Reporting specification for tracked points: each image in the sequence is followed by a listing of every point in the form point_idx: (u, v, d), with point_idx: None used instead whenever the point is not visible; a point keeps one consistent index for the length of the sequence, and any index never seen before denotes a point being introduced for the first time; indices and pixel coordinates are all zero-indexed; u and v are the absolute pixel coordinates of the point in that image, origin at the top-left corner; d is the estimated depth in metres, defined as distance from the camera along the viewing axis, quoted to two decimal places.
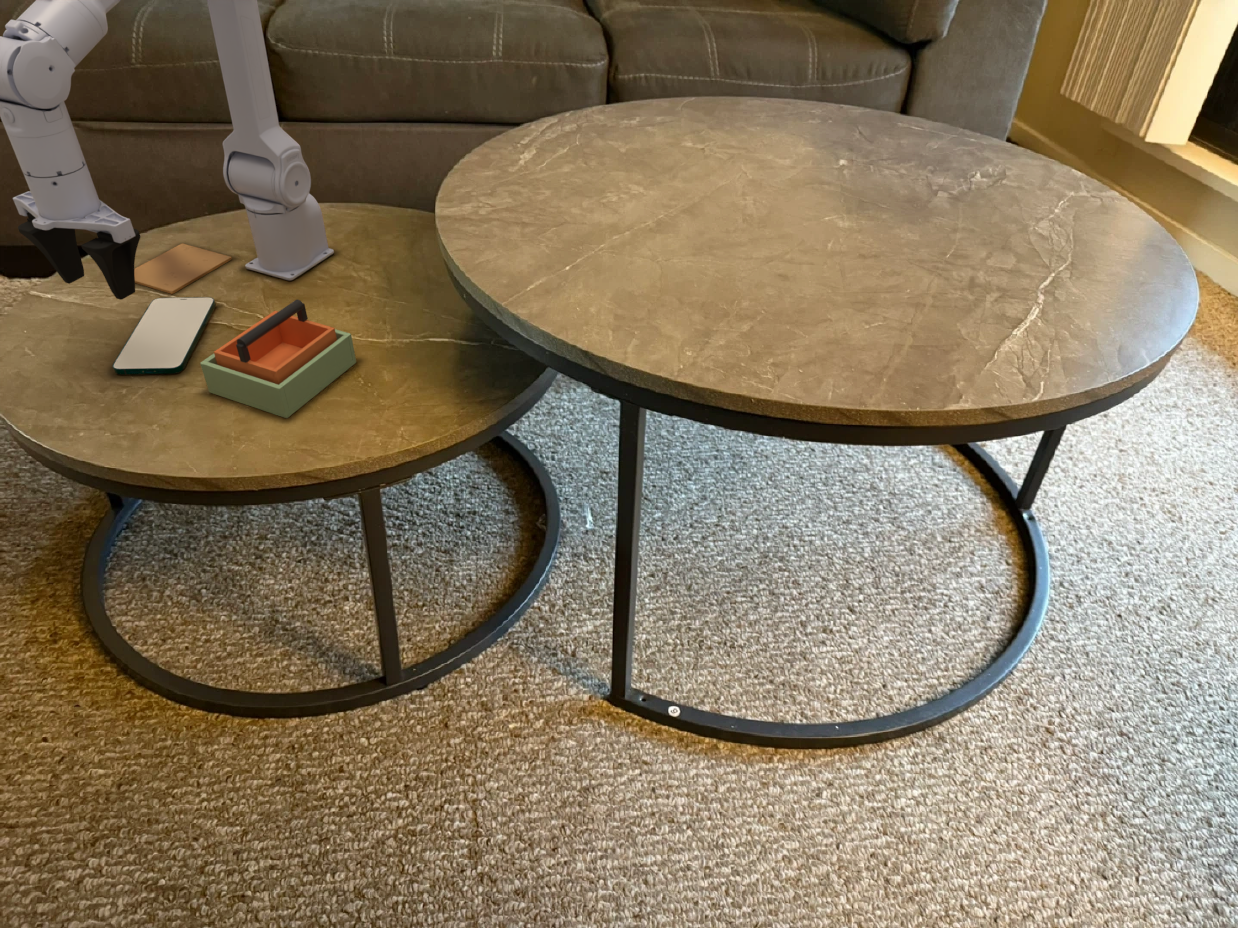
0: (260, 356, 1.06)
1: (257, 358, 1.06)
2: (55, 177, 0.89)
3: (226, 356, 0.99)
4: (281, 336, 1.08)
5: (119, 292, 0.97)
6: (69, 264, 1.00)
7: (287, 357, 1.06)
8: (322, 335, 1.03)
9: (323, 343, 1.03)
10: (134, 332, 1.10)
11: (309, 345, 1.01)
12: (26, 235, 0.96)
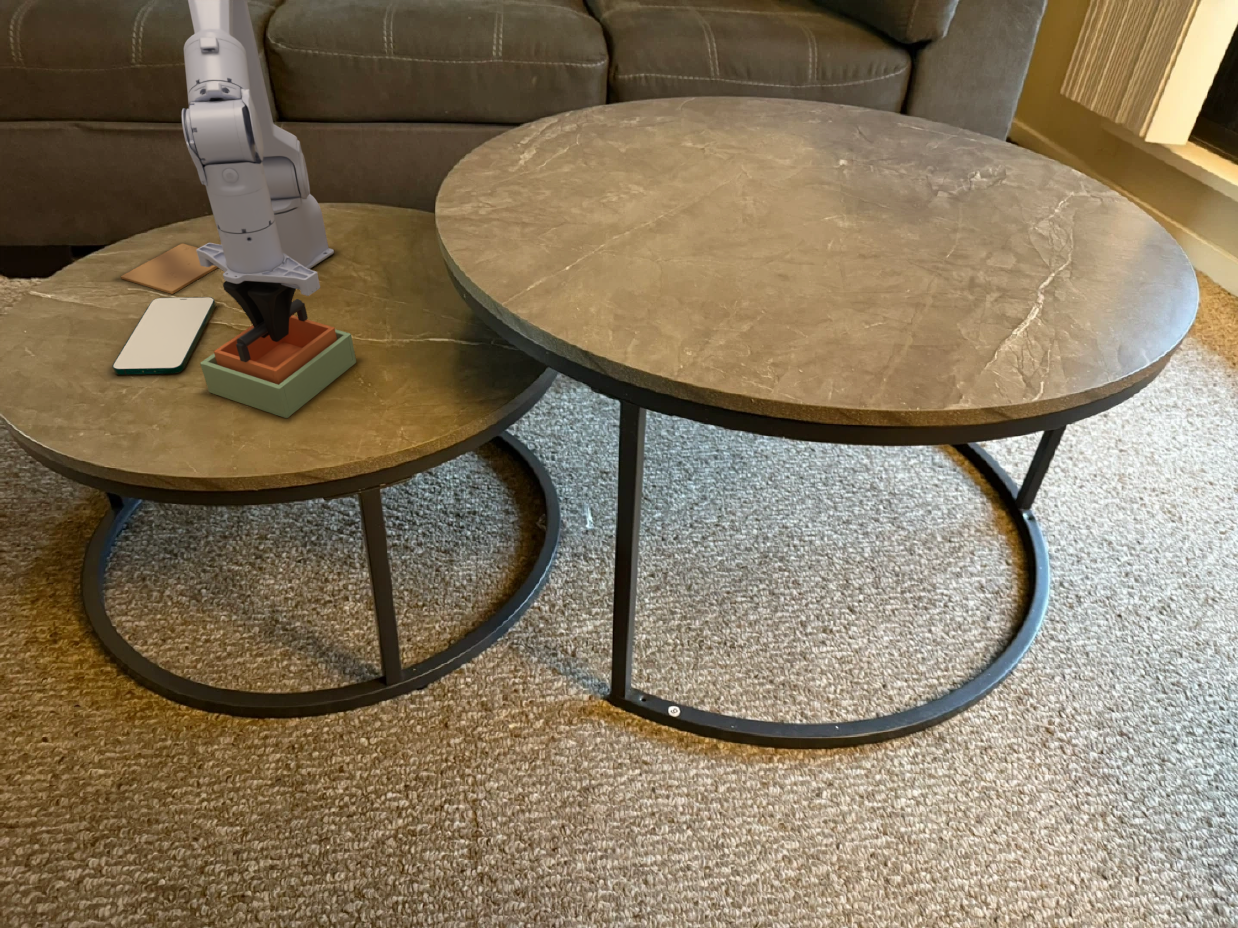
0: (260, 355, 1.06)
1: (257, 357, 1.06)
2: (250, 233, 0.91)
3: (226, 356, 0.99)
4: None
5: (276, 335, 1.00)
6: None
7: (287, 357, 1.06)
8: (322, 335, 1.03)
9: (323, 343, 1.03)
10: (134, 332, 1.10)
11: (309, 345, 1.01)
12: (230, 292, 0.97)
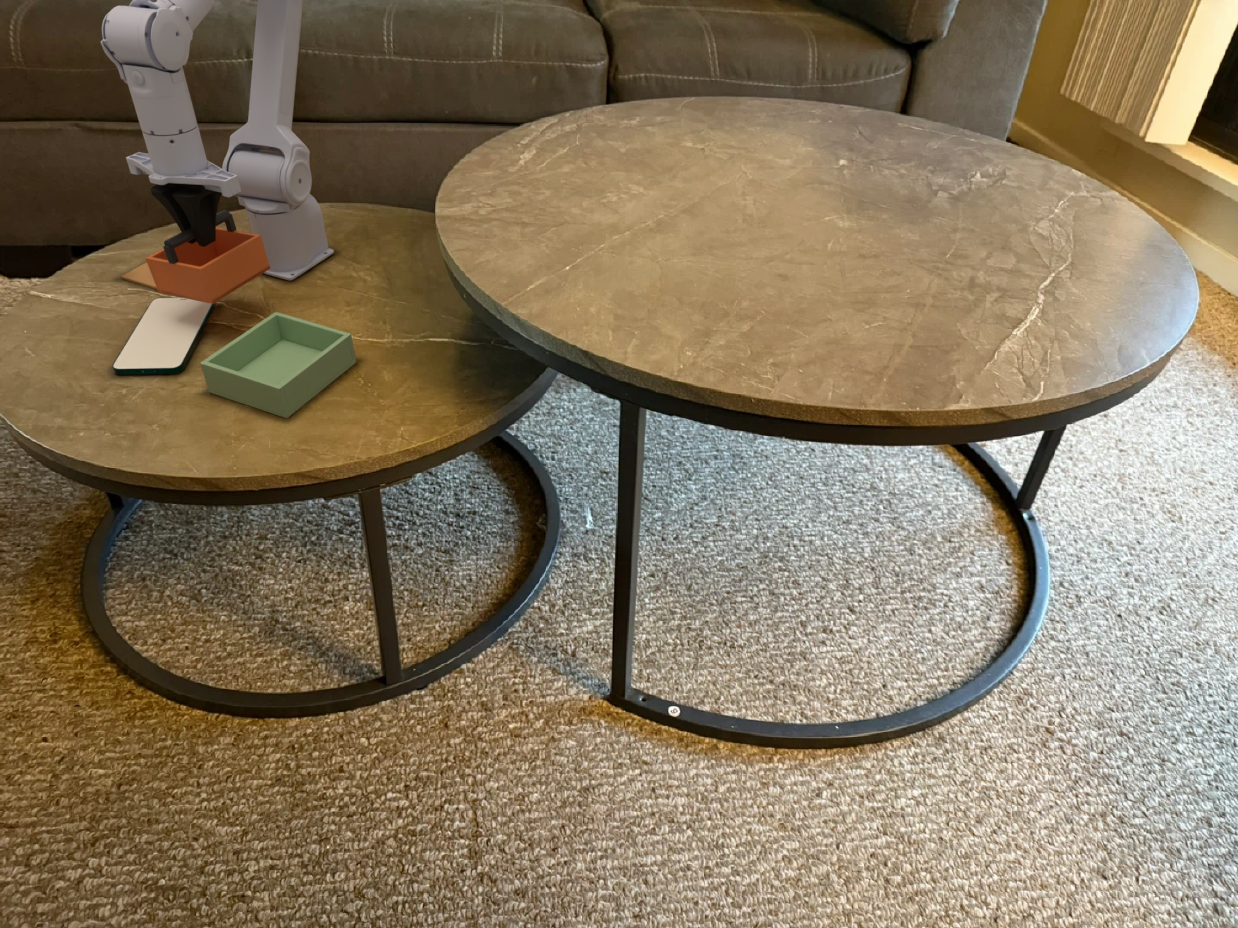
0: None
1: None
2: (173, 135, 0.98)
3: (156, 261, 1.06)
4: (215, 251, 1.15)
5: (202, 239, 1.07)
6: None
7: None
8: (248, 240, 1.09)
9: (249, 248, 1.10)
10: (134, 332, 1.10)
11: (235, 248, 1.08)
12: (158, 197, 1.03)
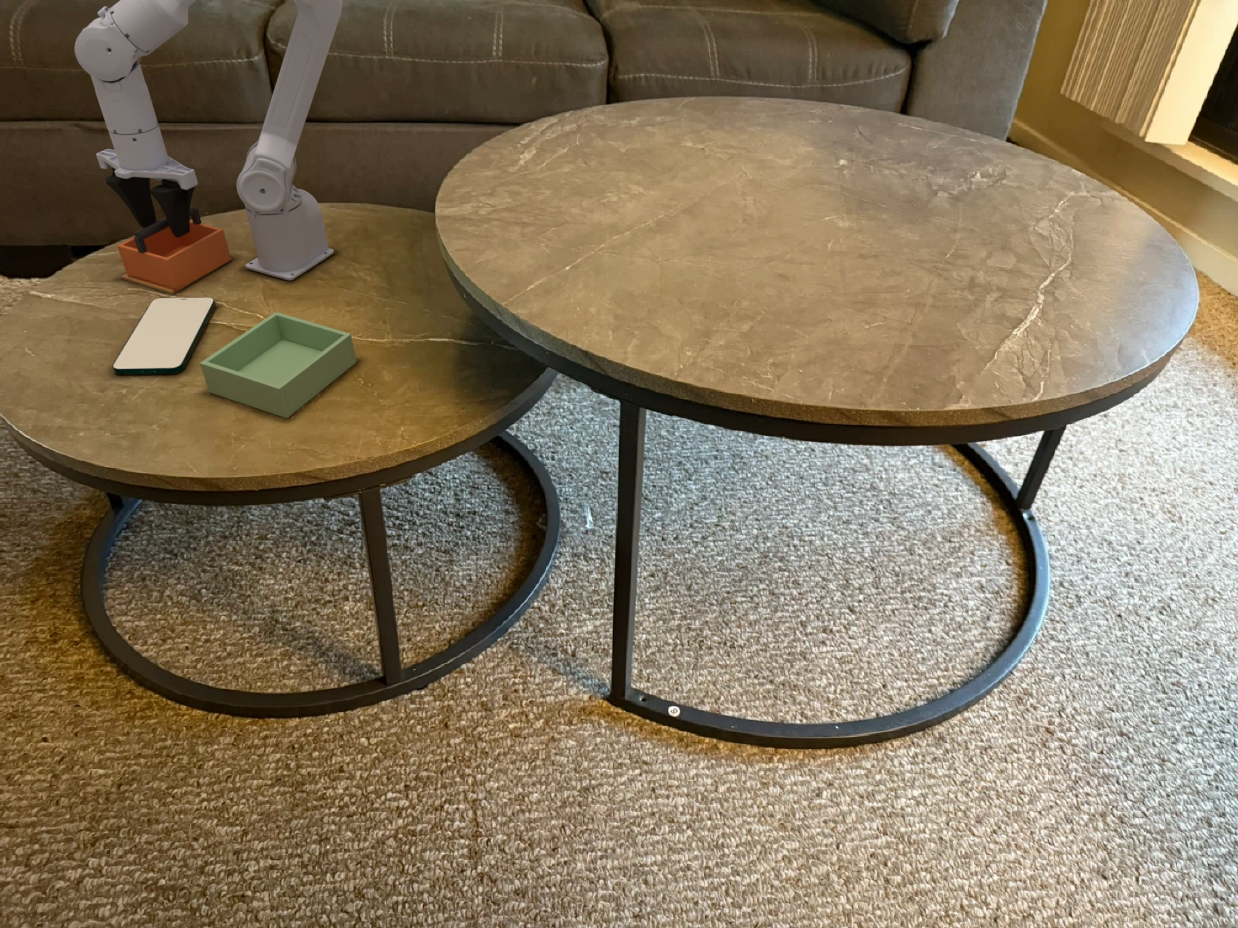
0: (161, 254, 1.25)
1: (159, 256, 1.24)
2: (135, 134, 1.10)
3: (127, 249, 1.18)
4: (181, 239, 1.27)
5: (177, 231, 1.18)
6: (145, 211, 1.20)
7: None
8: (211, 234, 1.22)
9: (212, 241, 1.22)
10: (134, 332, 1.10)
11: (199, 241, 1.20)
12: (112, 186, 1.16)
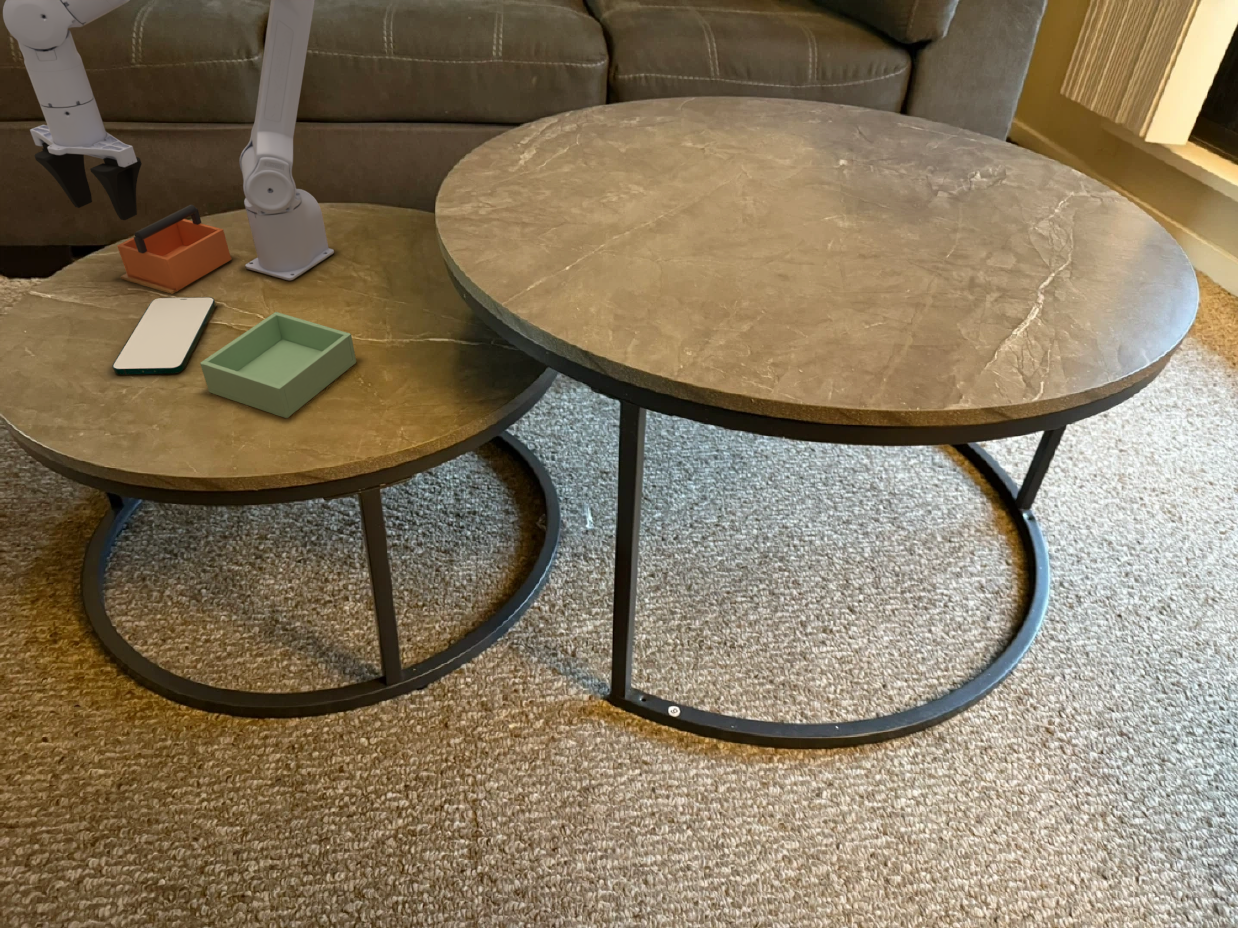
0: (161, 254, 1.25)
1: (159, 256, 1.24)
2: (68, 107, 1.03)
3: (127, 249, 1.18)
4: (181, 239, 1.27)
5: (123, 213, 1.11)
6: (79, 190, 1.14)
7: None
8: (211, 234, 1.22)
9: (212, 241, 1.22)
10: (134, 332, 1.10)
11: (199, 241, 1.20)
12: (41, 162, 1.10)
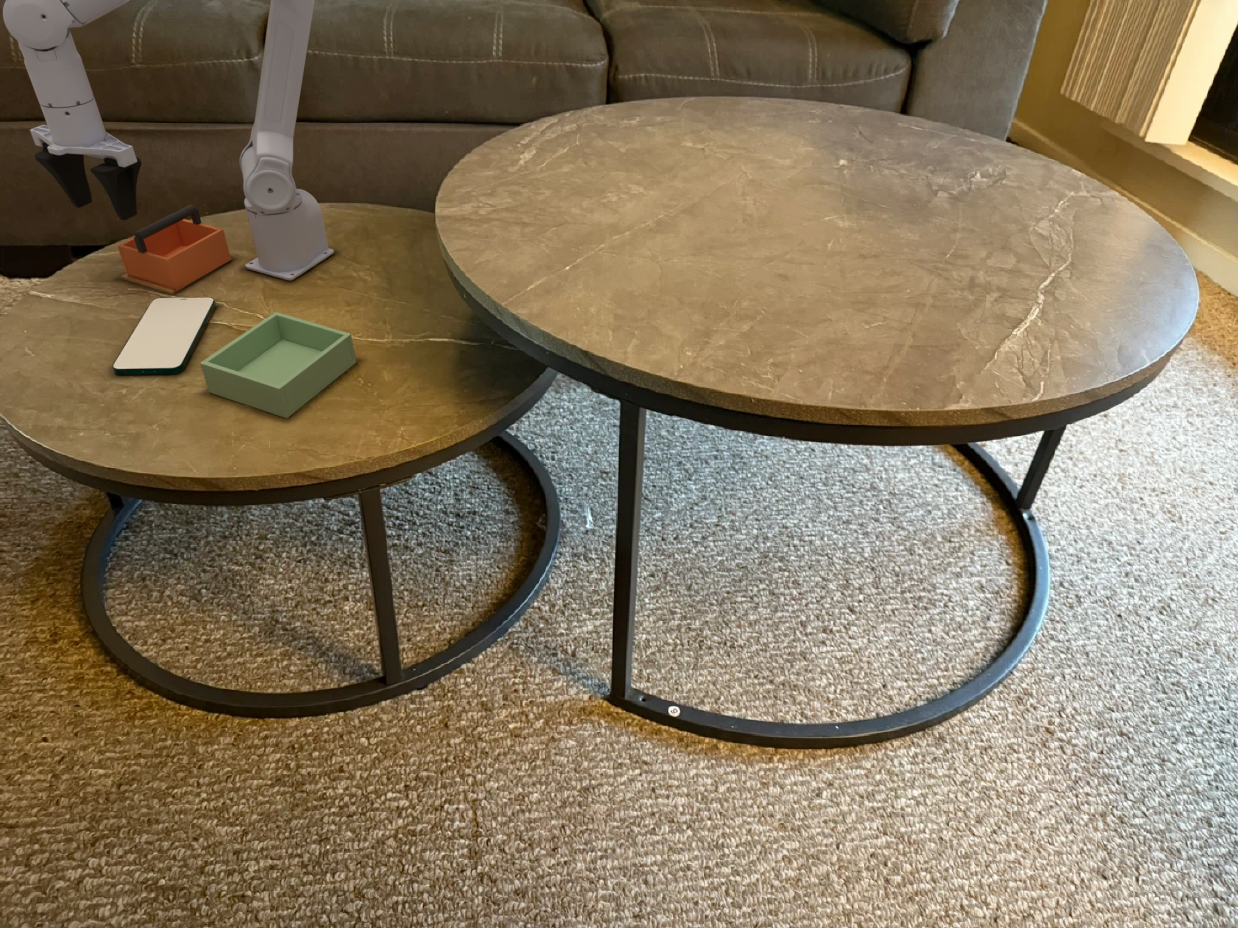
0: (161, 254, 1.25)
1: (159, 256, 1.24)
2: (68, 107, 1.03)
3: (127, 249, 1.18)
4: (181, 239, 1.27)
5: (123, 213, 1.11)
6: (79, 190, 1.14)
7: None
8: (211, 234, 1.22)
9: (212, 241, 1.22)
10: (134, 332, 1.10)
11: (199, 241, 1.20)
12: (41, 162, 1.10)
